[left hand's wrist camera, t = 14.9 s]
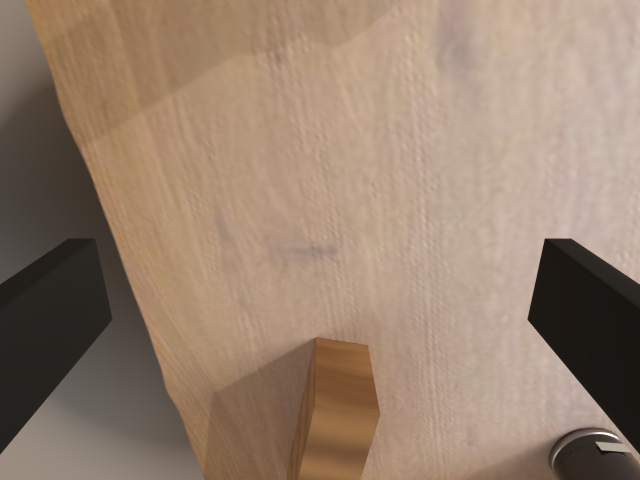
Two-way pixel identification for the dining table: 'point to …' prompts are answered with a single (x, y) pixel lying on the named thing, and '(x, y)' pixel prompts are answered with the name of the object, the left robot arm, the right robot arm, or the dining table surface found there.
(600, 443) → the right robot arm
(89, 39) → the dining table surface
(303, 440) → the box
